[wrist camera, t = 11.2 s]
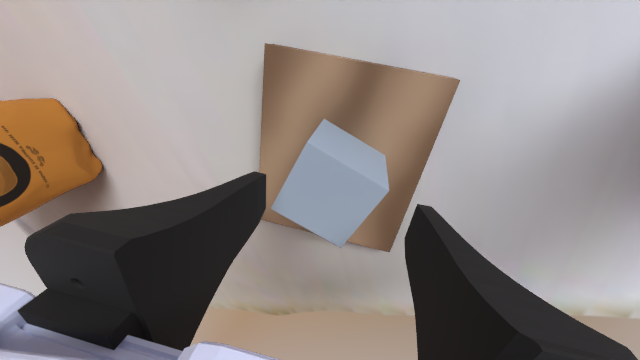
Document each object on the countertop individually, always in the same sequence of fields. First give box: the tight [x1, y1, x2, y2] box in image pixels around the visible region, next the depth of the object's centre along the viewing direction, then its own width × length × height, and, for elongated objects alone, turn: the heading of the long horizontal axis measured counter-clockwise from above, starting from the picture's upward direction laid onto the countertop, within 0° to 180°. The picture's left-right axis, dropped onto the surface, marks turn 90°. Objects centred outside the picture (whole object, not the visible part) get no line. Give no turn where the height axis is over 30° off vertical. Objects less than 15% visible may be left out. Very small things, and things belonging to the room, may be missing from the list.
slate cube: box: [271, 119, 389, 248], centre depth 16 cm, size 5×5×5 cm
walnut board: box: [259, 44, 460, 252], centre depth 19 cm, size 12×14×2 cm
